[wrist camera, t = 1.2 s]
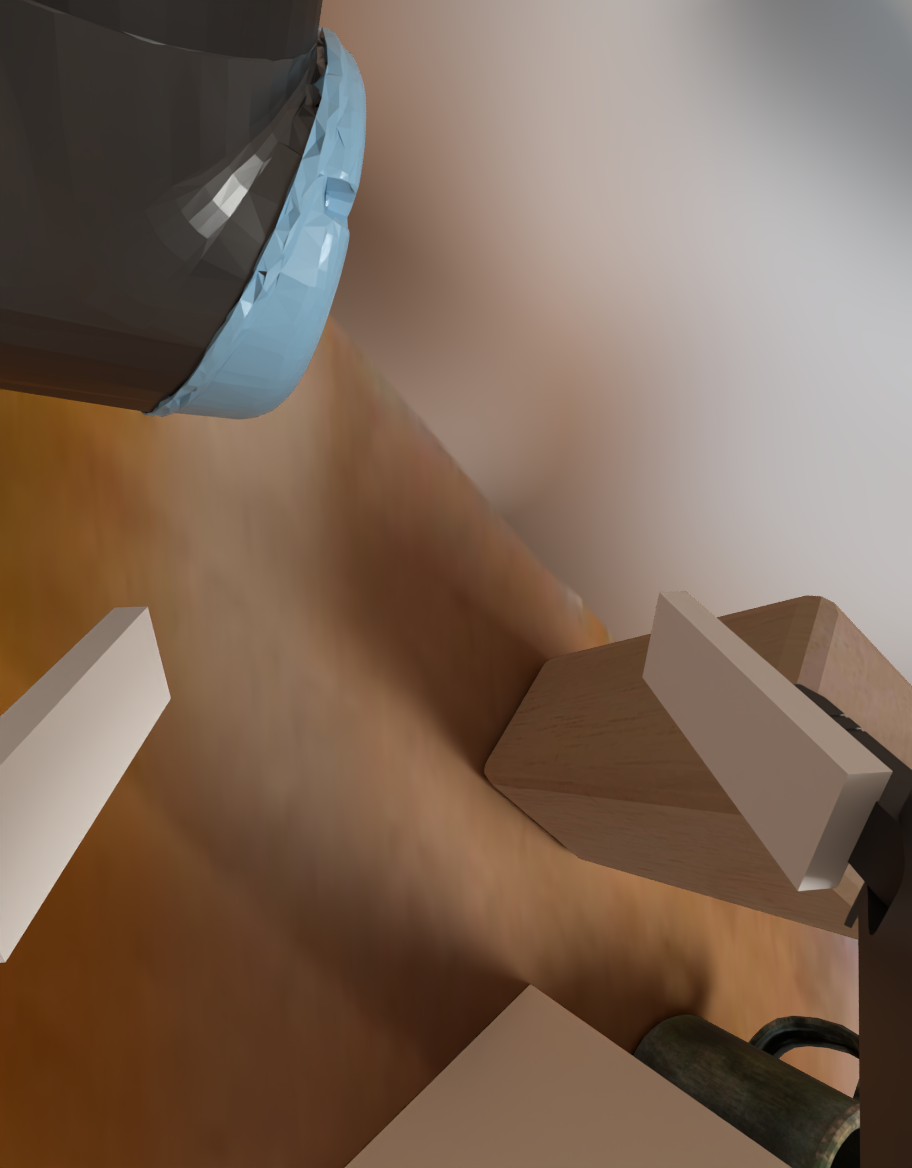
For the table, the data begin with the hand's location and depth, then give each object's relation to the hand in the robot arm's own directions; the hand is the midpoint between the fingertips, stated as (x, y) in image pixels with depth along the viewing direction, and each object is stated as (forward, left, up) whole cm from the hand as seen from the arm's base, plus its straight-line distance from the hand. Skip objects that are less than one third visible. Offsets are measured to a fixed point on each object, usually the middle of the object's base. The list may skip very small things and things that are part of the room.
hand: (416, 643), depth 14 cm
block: (+11, +15, -19) cm, 27 cm away
